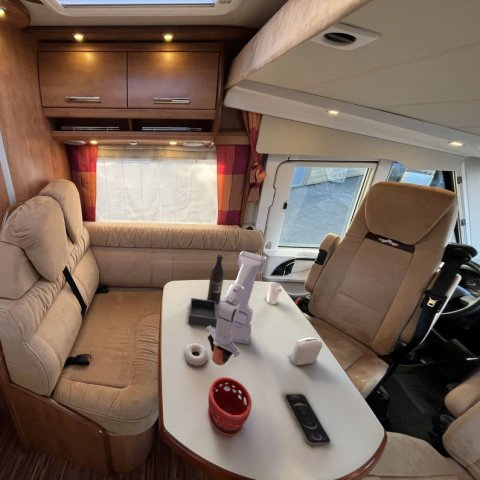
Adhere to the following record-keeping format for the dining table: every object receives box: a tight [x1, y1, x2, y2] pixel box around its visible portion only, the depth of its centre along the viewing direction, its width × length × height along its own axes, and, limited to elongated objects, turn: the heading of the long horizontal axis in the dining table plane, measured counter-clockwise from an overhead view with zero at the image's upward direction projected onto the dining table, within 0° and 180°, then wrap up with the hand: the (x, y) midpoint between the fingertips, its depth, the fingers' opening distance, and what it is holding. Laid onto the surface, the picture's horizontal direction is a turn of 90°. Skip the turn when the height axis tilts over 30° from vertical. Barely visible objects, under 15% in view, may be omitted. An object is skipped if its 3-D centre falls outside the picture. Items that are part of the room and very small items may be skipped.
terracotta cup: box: [211, 345, 226, 366], centre depth 90 cm, size 5×5×8 cm
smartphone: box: [284, 393, 331, 446], centre depth 80 cm, size 8×1×15 cm
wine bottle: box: [206, 254, 225, 306], centre depth 127 cm, size 7×7×30 cm
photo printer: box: [290, 337, 323, 366], centre depth 97 cm, size 10×4×12 cm, turn 100°
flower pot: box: [207, 376, 253, 437], centre depth 77 cm, size 13×13×12 cm
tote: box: [187, 297, 217, 329], centre depth 122 cm, size 14×14×5 cm
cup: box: [266, 281, 283, 305], centre depth 132 cm, size 7×7×11 cm
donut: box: [183, 343, 208, 366], centre depth 100 cm, size 10×3×10 cm
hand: (219, 355), depth 91 cm, fingers closed on terracotta cup, 5 cm apart
